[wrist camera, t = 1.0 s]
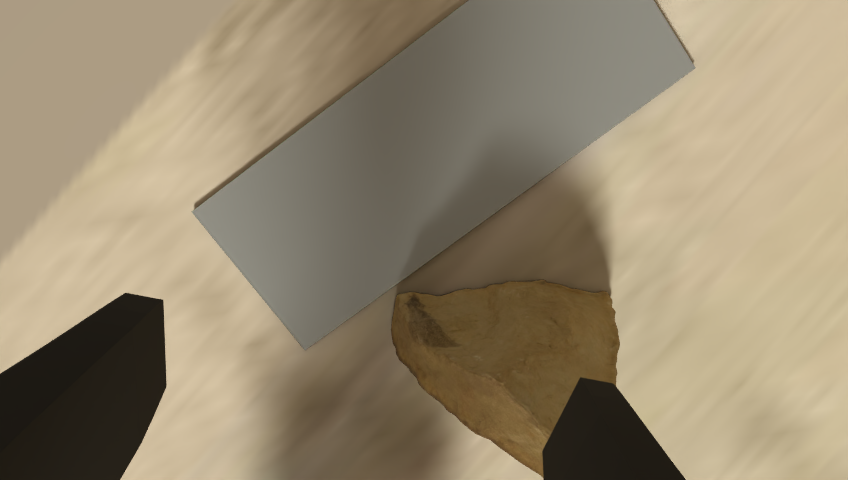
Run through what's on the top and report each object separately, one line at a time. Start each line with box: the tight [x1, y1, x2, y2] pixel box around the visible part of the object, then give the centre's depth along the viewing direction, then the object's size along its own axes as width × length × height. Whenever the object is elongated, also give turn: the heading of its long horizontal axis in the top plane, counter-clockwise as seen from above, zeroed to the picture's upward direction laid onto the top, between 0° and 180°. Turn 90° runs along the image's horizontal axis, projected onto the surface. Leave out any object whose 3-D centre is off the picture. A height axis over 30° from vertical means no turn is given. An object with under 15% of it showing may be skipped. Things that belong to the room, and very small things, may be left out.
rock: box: [391, 280, 620, 478], centre depth 26 cm, size 11×9×10 cm
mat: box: [192, 0, 695, 350], centre depth 28 cm, size 9×24×1 cm, turn 126°
